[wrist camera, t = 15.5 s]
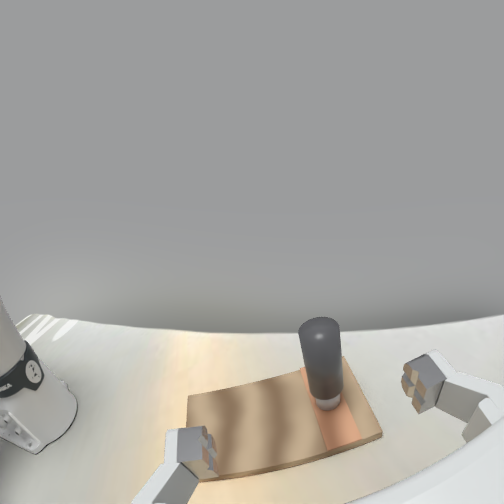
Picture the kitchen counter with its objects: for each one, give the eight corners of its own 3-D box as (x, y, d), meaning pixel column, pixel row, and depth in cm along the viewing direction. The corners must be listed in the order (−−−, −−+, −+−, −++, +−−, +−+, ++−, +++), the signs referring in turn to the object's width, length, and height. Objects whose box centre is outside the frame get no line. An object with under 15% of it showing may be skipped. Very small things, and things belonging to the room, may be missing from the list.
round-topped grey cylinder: (316, 417, 30) (304, 348, 26) (308, 394, 34) (294, 323, 30) (348, 407, 30) (345, 335, 26) (338, 385, 34) (331, 312, 30)
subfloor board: (189, 482, 26) (183, 477, 26) (191, 401, 39) (187, 394, 39) (381, 437, 27) (382, 430, 26) (344, 363, 40) (343, 354, 39)
